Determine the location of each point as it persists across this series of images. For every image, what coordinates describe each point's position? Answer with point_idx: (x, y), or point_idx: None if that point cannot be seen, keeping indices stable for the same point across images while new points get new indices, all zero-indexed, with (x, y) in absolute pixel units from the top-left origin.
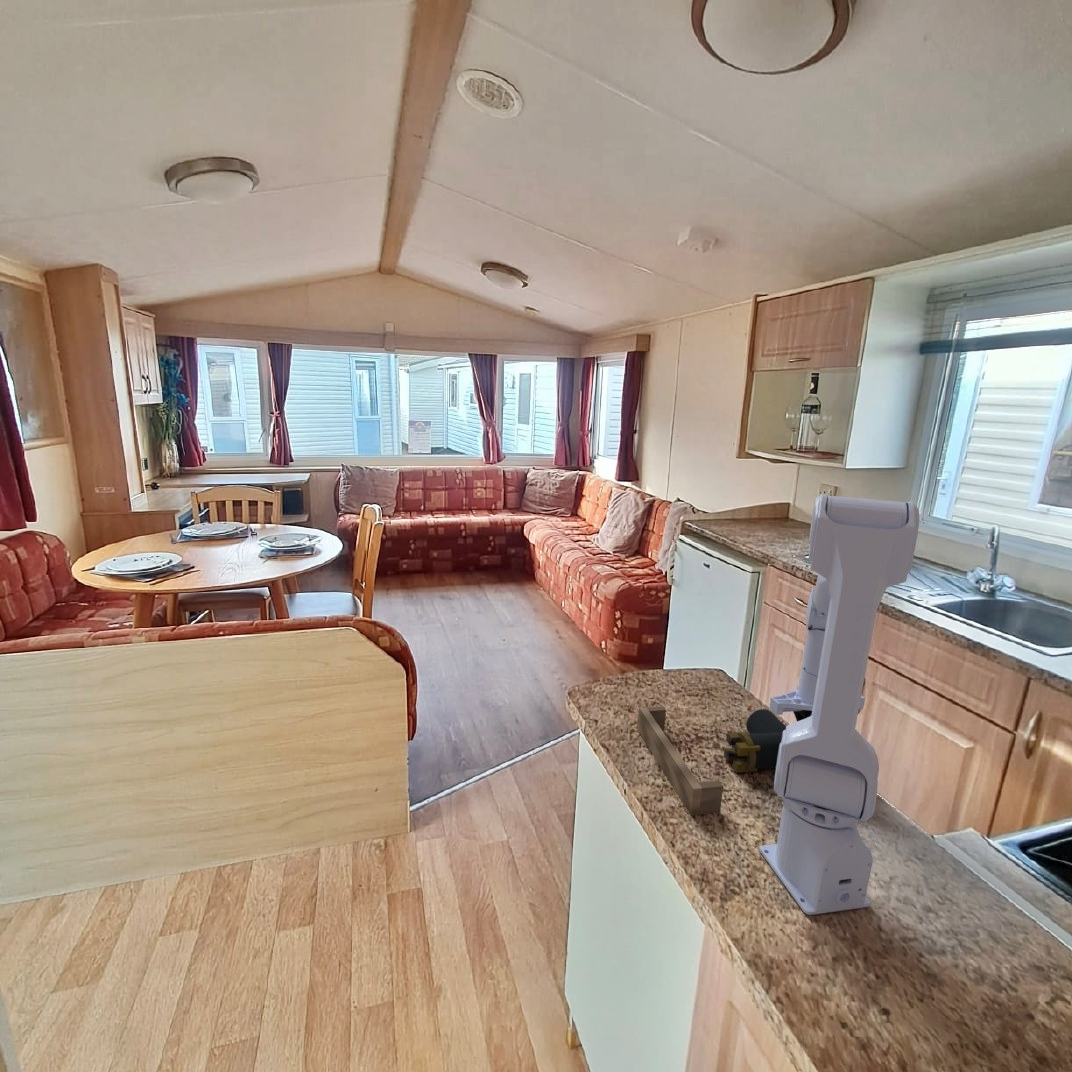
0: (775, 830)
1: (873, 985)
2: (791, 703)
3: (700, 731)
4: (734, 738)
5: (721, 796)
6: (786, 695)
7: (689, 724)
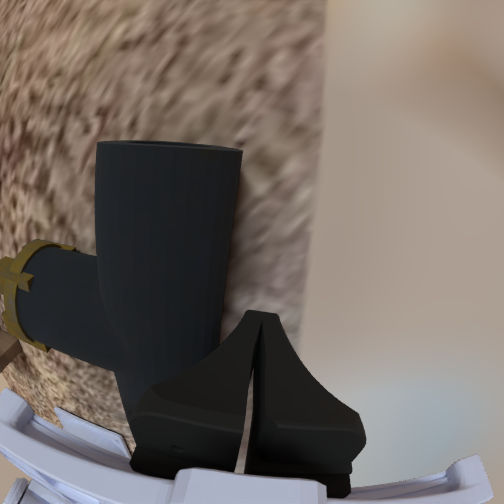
0: (79, 402)
1: None
2: (52, 491)
3: (37, 108)
4: (2, 291)
5: (6, 365)
6: (36, 472)
7: (33, 73)
